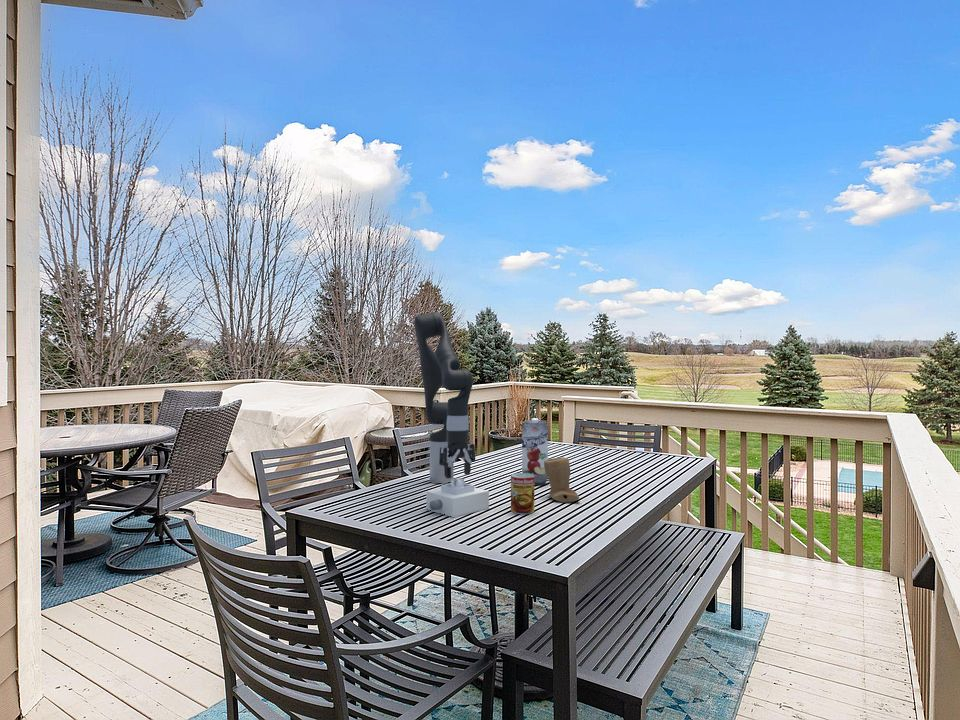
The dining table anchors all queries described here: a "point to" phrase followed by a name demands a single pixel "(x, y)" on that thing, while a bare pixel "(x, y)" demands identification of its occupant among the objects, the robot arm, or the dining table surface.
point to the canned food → (522, 493)
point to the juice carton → (535, 449)
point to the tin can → (457, 482)
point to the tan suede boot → (560, 479)
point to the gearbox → (457, 500)
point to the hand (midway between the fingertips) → (457, 476)
